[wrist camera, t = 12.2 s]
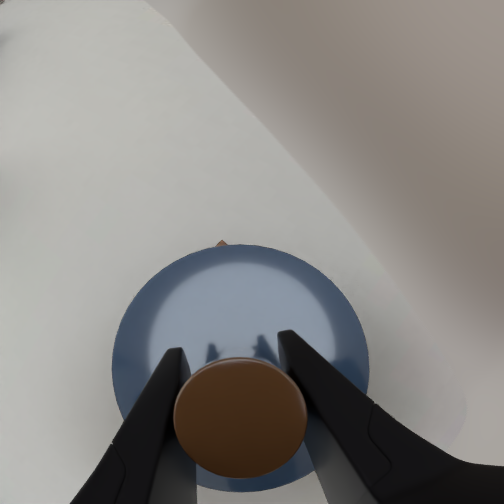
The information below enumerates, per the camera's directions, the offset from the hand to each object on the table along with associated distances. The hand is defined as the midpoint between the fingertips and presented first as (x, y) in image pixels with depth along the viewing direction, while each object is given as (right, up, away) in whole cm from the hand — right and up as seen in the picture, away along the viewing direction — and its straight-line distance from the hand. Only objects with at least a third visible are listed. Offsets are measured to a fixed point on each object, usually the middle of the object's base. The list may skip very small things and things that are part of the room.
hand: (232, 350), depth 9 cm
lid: (0, -3, +5) cm, 6 cm away
